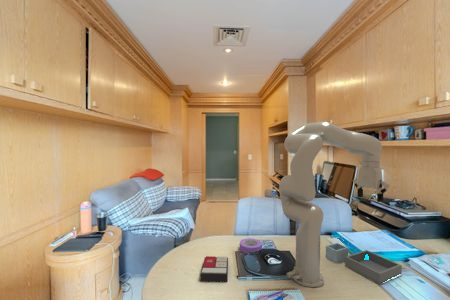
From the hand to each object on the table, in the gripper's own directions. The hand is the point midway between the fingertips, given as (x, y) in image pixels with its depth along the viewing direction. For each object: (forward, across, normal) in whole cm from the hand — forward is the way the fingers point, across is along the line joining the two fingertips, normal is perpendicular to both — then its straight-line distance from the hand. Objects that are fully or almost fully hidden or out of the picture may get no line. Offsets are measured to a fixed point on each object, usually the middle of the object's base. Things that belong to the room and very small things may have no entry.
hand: (369, 199), depth 111 cm
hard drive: (+29, -15, -2) cm, 33 cm away
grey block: (+29, -5, -17) cm, 33 cm away
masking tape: (+29, -31, -50) cm, 65 cm away
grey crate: (+28, +9, -12) cm, 32 cm away
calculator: (+29, -19, -75) cm, 82 cm away
